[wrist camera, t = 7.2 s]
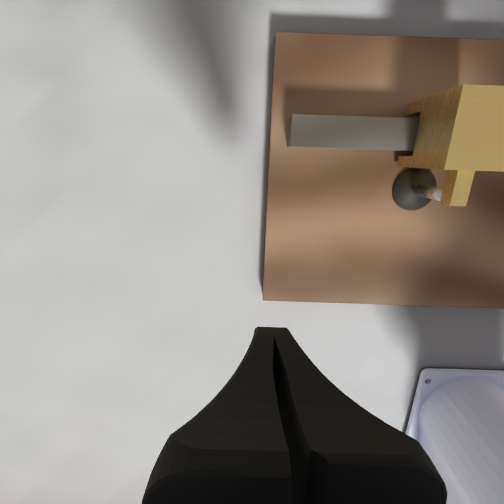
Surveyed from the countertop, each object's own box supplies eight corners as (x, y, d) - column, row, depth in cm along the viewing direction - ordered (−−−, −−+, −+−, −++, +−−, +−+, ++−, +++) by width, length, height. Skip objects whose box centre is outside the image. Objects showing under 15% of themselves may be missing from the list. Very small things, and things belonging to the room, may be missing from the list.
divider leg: (440, 197, 18) (499, 209, 14) (391, 195, 18) (435, 207, 14) (461, 105, 17) (535, 87, 12) (407, 103, 17) (463, 84, 12)
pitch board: (544, 302, 22) (666, 362, 15) (262, 292, 22) (265, 350, 15) (637, 53, 17) (873, -12, 10) (274, 40, 17) (287, -33, 10)
